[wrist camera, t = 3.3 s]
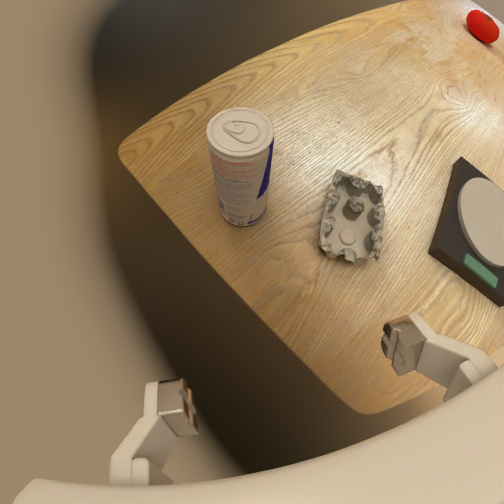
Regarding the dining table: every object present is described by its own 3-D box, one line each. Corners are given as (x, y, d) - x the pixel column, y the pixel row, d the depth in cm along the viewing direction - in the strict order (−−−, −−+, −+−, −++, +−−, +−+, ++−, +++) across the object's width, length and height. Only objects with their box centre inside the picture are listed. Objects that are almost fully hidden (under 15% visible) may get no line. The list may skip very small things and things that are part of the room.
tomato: (471, 25, 60) (481, 6, 51) (496, 49, 57) (508, 30, 47) (455, 22, 59) (465, 1, 49) (482, 47, 56) (495, 26, 46)
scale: (499, 307, 34) (514, 303, 31) (427, 253, 36) (441, 244, 33) (515, 216, 39) (527, 208, 35) (453, 163, 41) (464, 152, 38)
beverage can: (270, 222, 37) (282, 150, 23) (224, 231, 37) (210, 162, 23) (260, 183, 39) (265, 100, 25) (216, 191, 38) (201, 111, 24)
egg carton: (367, 272, 36) (380, 264, 32) (309, 253, 36) (316, 243, 32) (380, 198, 39) (392, 183, 35) (329, 179, 39) (336, 163, 35)
